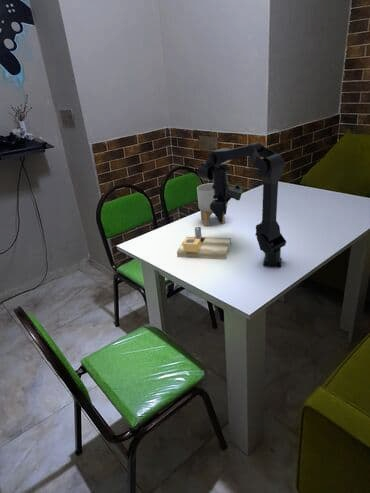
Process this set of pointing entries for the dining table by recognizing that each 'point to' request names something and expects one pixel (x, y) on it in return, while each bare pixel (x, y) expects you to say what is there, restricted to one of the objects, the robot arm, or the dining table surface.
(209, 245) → the subfloor board
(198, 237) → the peg
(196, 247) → the block
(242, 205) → the dining table surface
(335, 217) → the dining table surface
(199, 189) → the planter
